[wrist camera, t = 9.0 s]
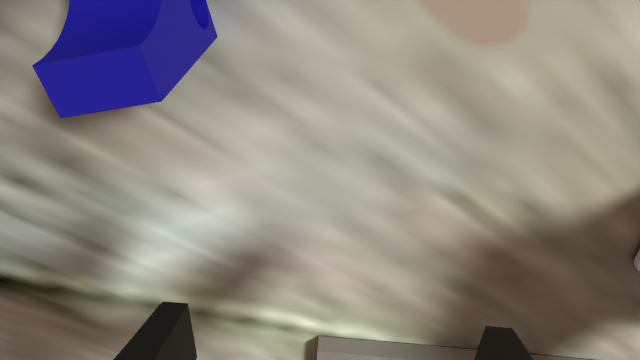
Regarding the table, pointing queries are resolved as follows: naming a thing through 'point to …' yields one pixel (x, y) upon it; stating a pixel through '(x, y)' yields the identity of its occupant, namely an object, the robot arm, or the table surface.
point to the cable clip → (123, 53)
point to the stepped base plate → (396, 351)
